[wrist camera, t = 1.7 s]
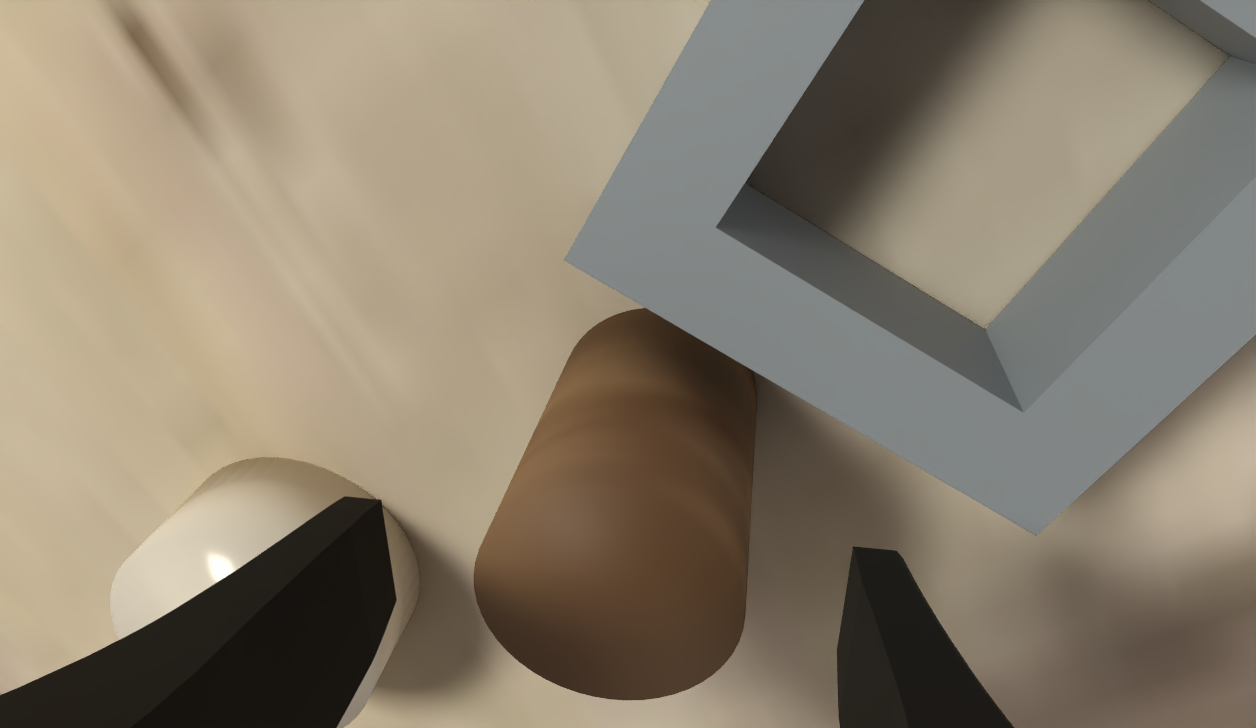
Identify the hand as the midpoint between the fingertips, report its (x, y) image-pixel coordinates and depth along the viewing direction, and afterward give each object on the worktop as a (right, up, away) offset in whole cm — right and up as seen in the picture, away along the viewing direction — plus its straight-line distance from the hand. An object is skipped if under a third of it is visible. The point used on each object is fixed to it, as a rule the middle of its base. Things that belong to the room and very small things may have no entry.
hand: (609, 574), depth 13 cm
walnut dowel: (+1, +2, +5) cm, 5 cm away
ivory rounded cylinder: (-8, -2, +8) cm, 12 cm away
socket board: (+6, +7, +1) cm, 9 cm away
